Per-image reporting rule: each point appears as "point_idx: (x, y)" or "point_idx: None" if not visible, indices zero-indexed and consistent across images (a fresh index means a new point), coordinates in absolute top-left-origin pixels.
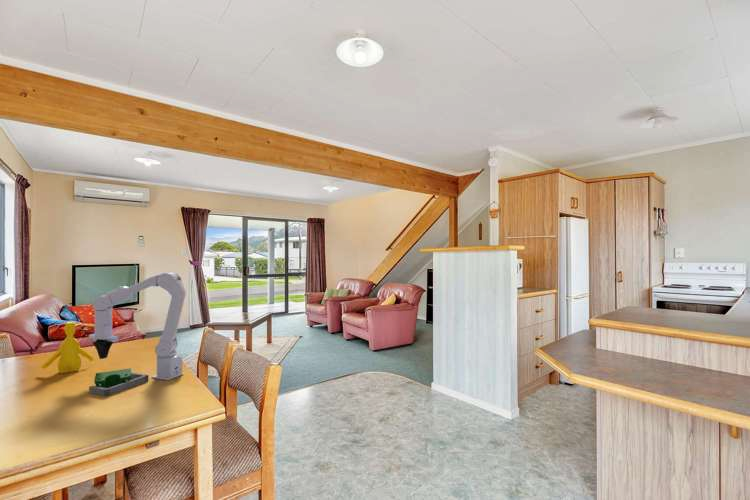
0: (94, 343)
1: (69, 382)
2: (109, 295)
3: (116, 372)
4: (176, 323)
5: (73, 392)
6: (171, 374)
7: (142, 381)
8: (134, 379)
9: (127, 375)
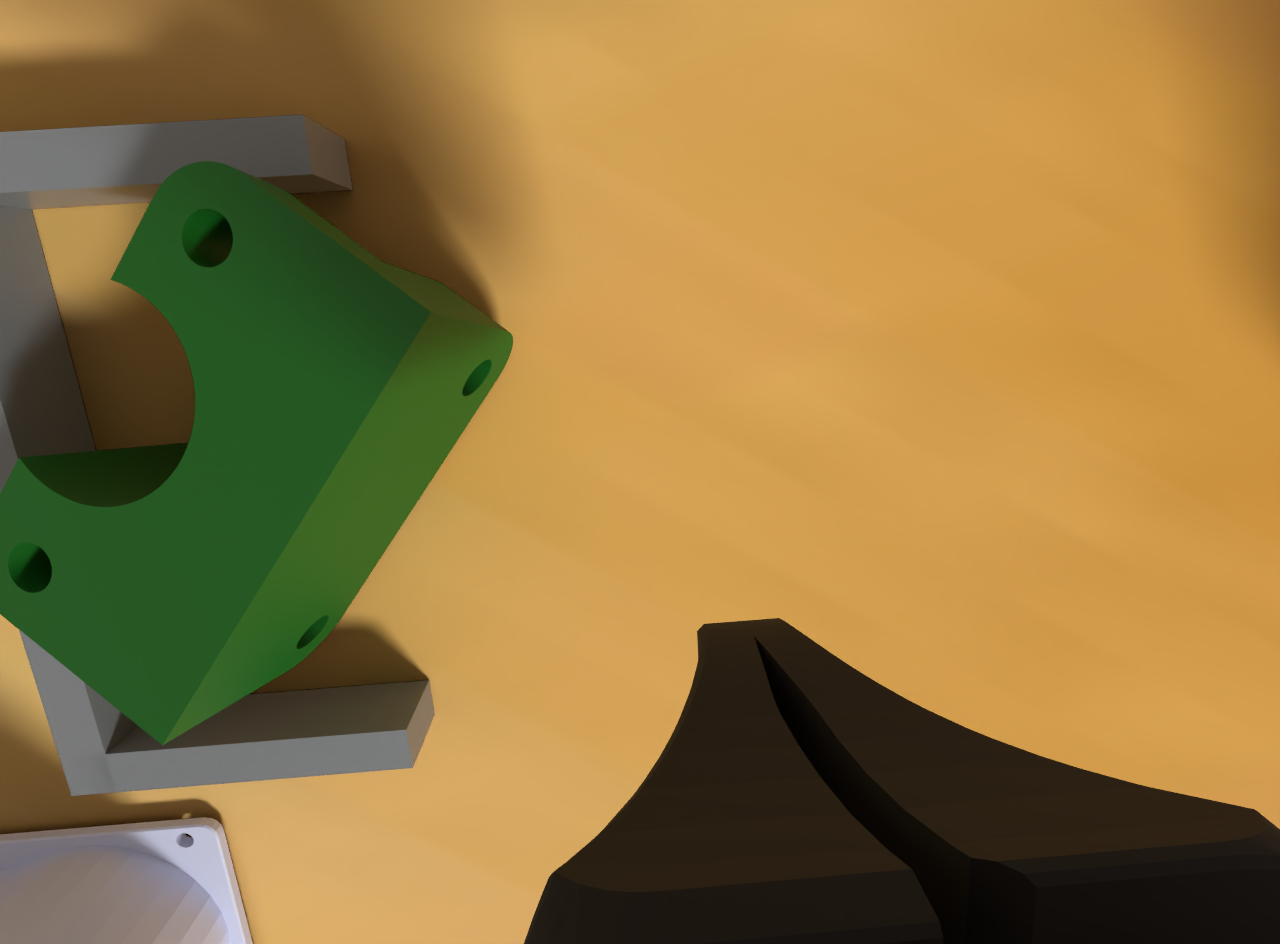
0: (1106, 842)
1: (1081, 286)
2: None
3: (205, 531)
4: None
5: (602, 67)
6: None
7: None
8: None
9: (1, 568)
